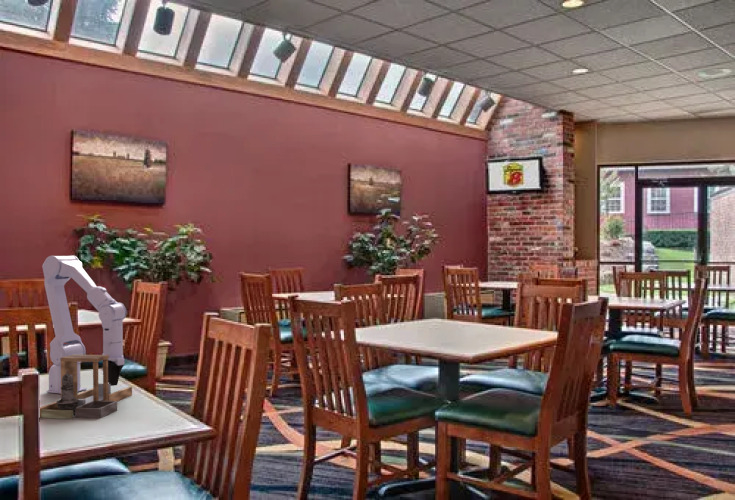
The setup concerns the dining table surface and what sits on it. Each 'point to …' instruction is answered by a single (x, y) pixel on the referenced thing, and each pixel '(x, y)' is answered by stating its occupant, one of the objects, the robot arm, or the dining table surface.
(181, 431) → the dining table surface
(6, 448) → the dining table surface
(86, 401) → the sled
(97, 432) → the dining table surface
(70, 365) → the brown wooden frame
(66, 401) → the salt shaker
